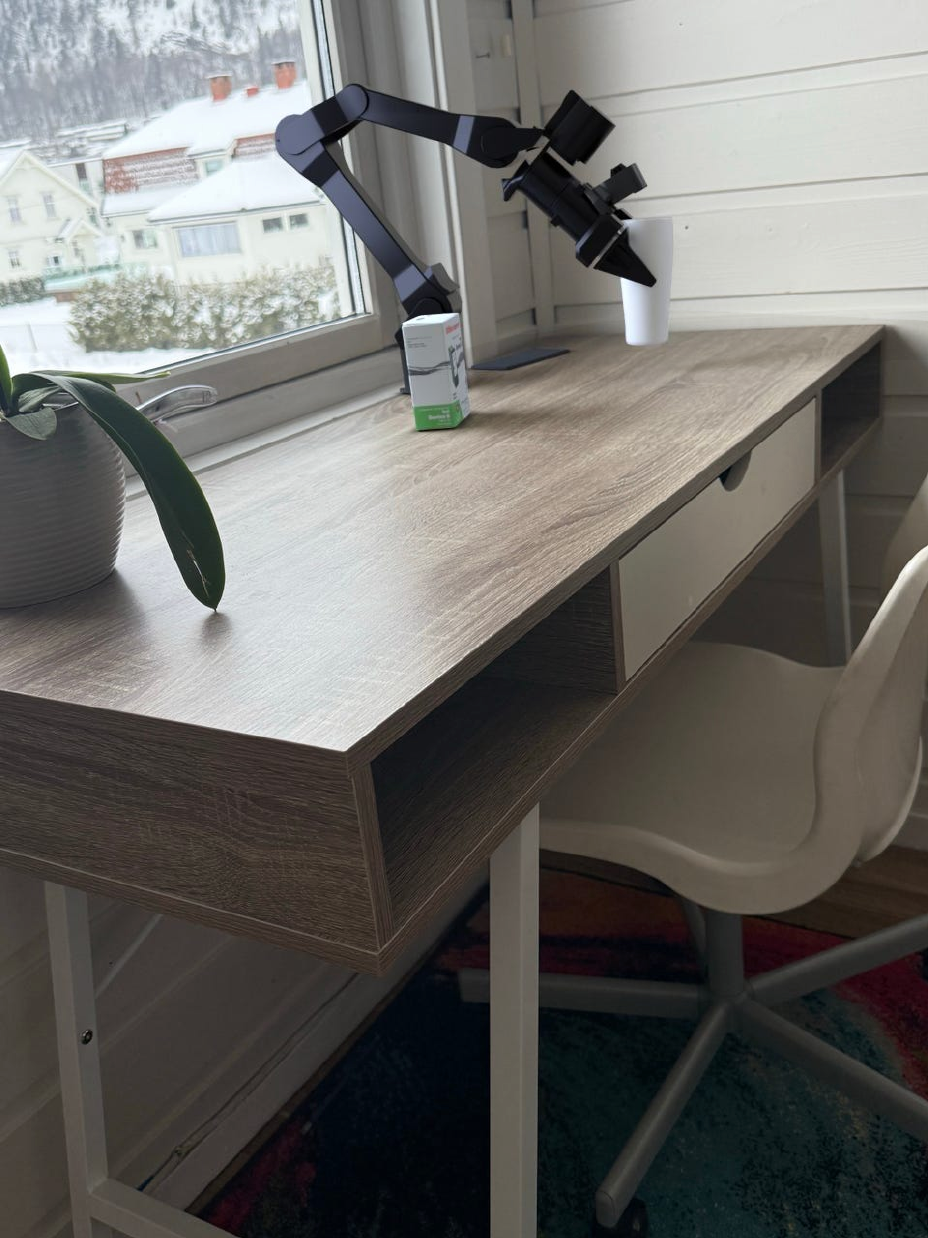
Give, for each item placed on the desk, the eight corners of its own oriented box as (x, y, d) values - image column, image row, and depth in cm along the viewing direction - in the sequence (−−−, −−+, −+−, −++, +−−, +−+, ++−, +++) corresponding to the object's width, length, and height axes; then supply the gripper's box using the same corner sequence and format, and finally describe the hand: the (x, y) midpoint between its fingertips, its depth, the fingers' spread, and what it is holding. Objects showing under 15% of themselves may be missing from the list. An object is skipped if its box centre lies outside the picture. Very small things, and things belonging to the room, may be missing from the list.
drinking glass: (614, 348, 143) (611, 221, 138) (626, 341, 149) (623, 219, 144) (668, 346, 141) (667, 217, 136) (678, 339, 147) (677, 215, 142)
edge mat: (506, 369, 162) (506, 367, 162) (471, 368, 167) (470, 365, 167) (569, 351, 171) (569, 349, 171) (534, 351, 176) (533, 348, 176)
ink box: (456, 428, 128) (443, 320, 124) (413, 431, 129) (399, 324, 125) (472, 412, 136) (460, 310, 131) (431, 415, 137) (418, 314, 133)
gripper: (596, 140, 129) (700, 233, 130) (611, 141, 146) (702, 223, 147) (533, 221, 134) (633, 310, 135) (554, 212, 150) (643, 292, 152)
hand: (655, 281), depth 142 cm, fingers closed on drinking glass, 6 cm apart
